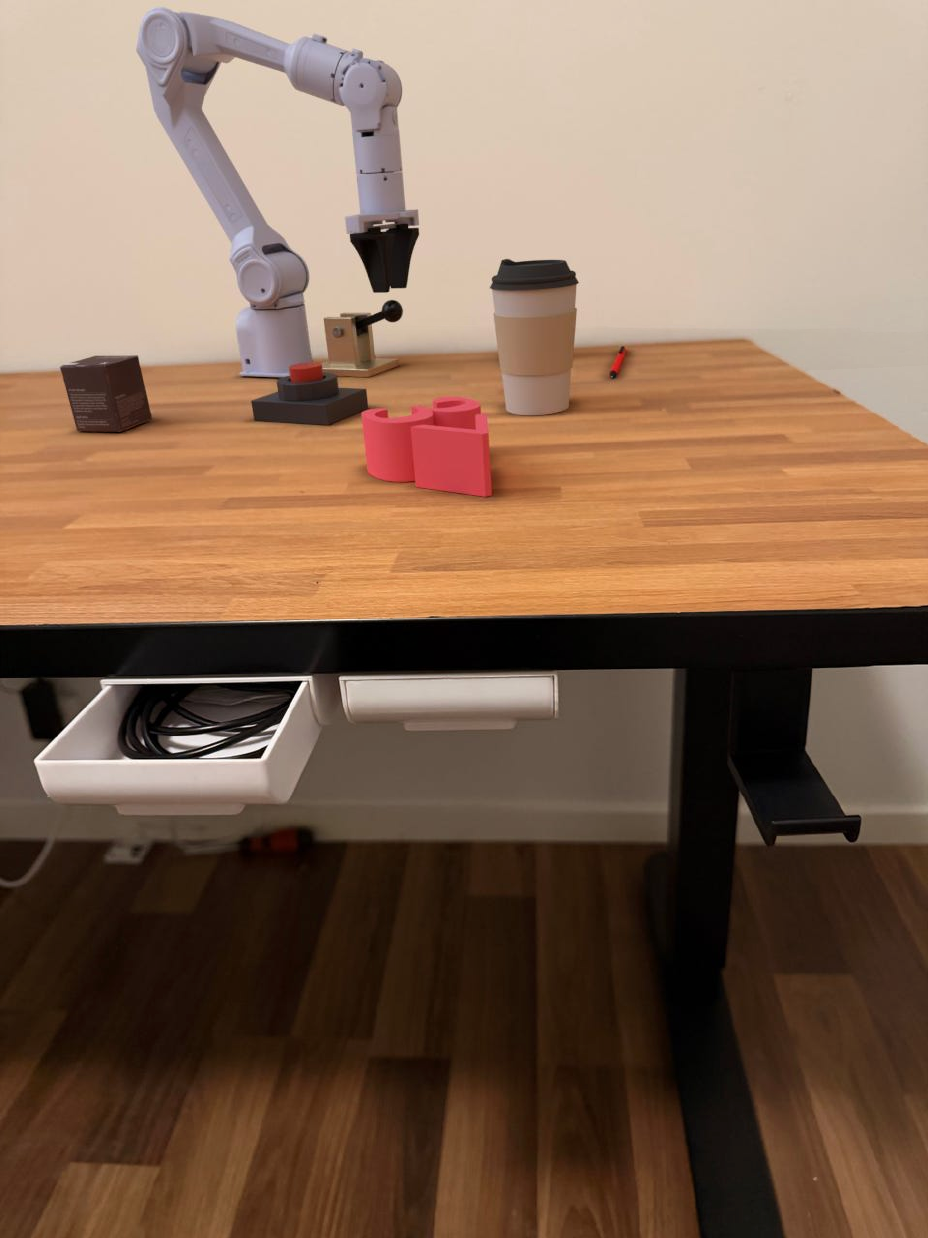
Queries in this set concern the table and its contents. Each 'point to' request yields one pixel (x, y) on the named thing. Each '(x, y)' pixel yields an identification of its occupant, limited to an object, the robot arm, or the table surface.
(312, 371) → the button
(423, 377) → the table surface
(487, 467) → the letters
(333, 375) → the block
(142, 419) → the box
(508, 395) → the coffee cup
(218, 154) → the robot arm
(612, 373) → the pen
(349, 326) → the lever bracket
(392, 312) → the black lever handle
